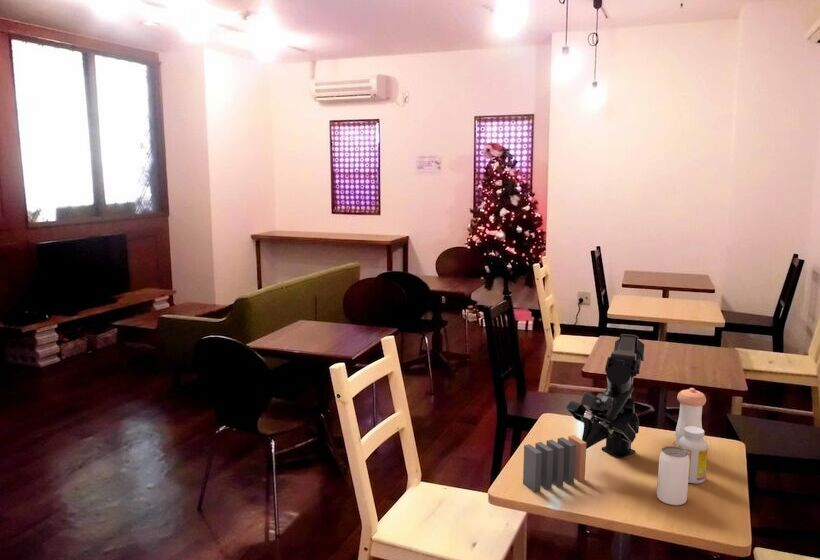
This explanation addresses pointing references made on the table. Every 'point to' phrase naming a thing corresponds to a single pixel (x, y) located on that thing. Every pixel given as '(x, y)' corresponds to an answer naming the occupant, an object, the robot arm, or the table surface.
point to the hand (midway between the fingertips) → (582, 448)
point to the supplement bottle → (695, 453)
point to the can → (673, 476)
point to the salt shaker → (689, 411)
